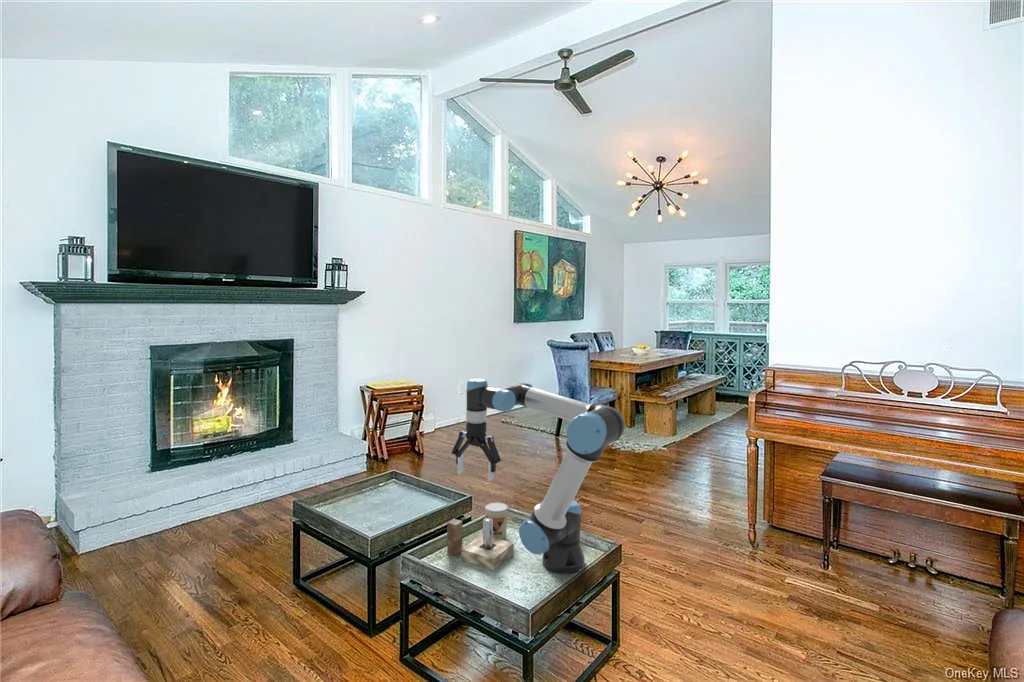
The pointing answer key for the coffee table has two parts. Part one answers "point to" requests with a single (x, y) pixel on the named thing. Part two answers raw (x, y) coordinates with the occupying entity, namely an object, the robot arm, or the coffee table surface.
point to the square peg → (454, 537)
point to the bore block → (487, 552)
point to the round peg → (488, 533)
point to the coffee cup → (498, 518)
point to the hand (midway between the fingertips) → (475, 476)
